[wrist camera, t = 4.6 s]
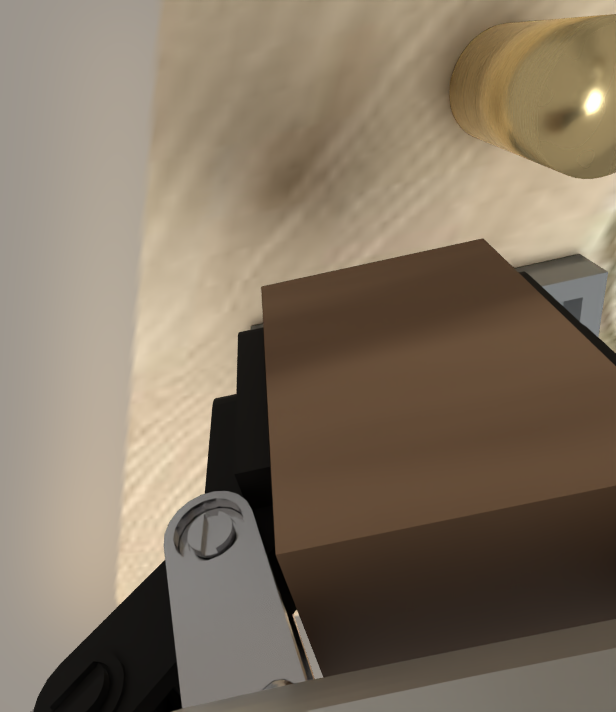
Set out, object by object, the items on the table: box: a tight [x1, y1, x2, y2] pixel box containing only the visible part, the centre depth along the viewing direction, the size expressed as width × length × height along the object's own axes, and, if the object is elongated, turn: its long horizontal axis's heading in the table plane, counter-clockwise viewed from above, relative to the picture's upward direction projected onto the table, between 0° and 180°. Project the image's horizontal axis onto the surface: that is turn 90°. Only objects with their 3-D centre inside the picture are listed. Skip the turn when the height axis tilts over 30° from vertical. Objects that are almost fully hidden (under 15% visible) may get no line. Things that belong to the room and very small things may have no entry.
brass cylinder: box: [449, 14, 616, 179], centre depth 16 cm, size 4×4×7 cm
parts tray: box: [251, 254, 608, 337], centre depth 27 cm, size 14×16×2 cm
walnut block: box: [261, 239, 616, 677], centre depth 9 cm, size 4×4×6 cm
